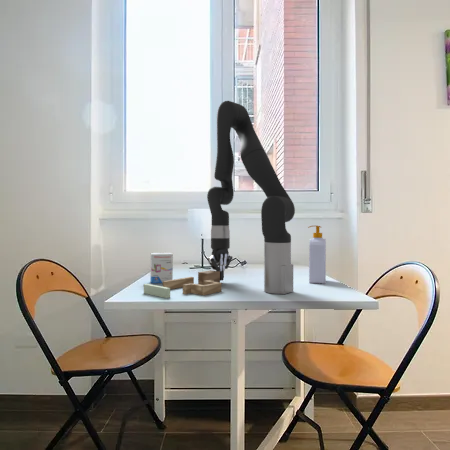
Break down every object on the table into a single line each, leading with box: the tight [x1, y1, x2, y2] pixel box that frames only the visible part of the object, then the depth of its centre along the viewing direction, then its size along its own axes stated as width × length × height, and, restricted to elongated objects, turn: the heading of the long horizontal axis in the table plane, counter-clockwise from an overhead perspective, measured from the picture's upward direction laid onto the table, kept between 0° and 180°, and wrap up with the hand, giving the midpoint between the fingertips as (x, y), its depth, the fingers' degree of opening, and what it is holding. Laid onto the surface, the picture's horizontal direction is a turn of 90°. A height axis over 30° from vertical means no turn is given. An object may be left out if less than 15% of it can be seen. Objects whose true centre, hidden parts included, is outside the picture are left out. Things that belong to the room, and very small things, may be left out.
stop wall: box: [143, 283, 171, 299], centre depth 116 cm, size 12×2×3 cm, turn 49°
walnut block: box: [197, 269, 221, 285], centre depth 136 cm, size 5×7×5 cm
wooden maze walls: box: [162, 276, 223, 296], centre depth 125 cm, size 18×14×3 cm
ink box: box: [150, 252, 174, 284], centre depth 142 cm, size 9×5×12 cm, turn 105°
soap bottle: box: [307, 225, 327, 285], centre depth 143 cm, size 9×7×23 cm
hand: (220, 280), depth 141 cm, fingers closed
